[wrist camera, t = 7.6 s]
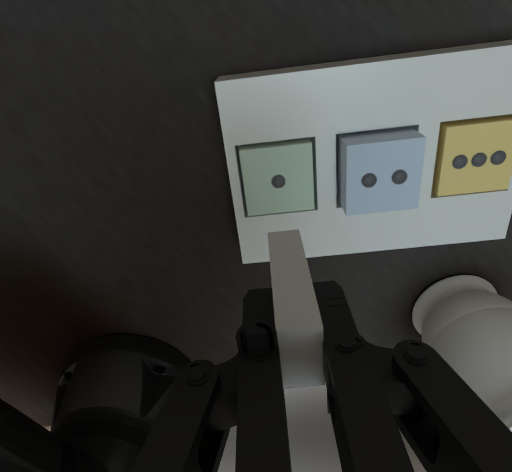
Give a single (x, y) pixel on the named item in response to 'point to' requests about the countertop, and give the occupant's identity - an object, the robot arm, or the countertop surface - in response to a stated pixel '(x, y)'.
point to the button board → (366, 119)
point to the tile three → (473, 155)
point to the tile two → (380, 170)
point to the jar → (471, 336)
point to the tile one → (278, 176)
